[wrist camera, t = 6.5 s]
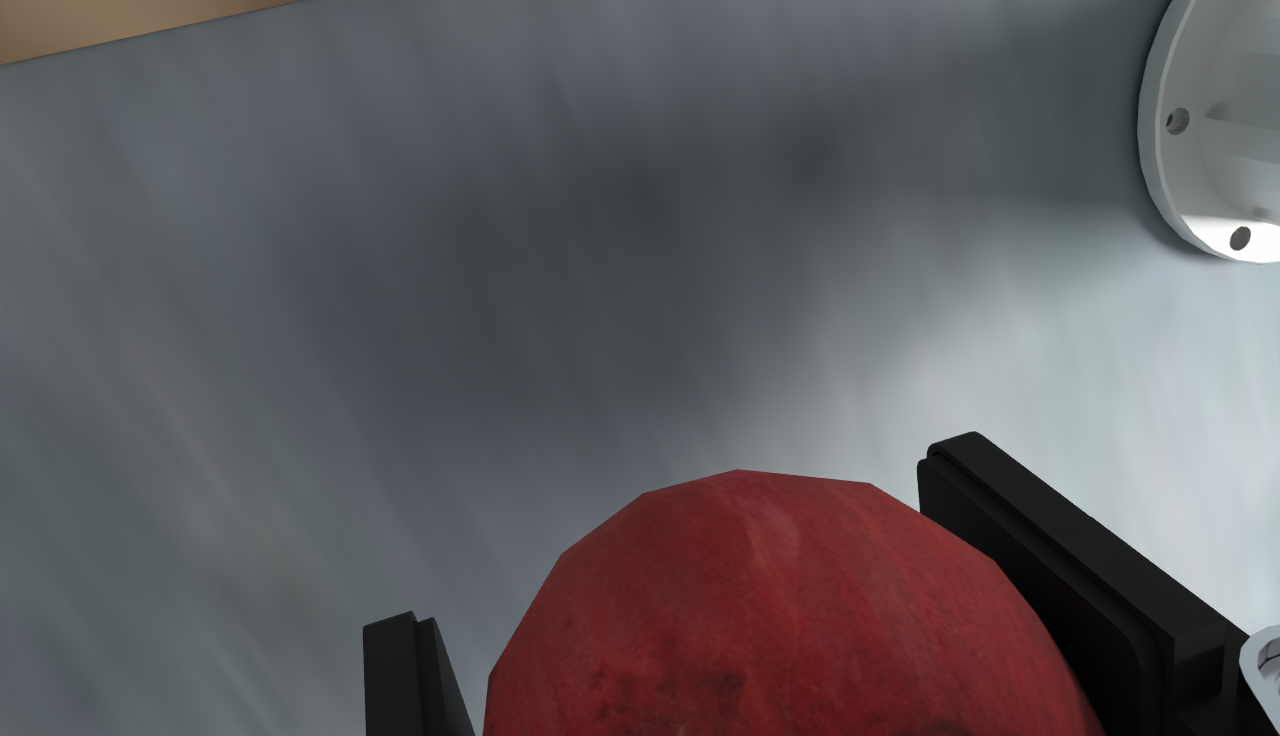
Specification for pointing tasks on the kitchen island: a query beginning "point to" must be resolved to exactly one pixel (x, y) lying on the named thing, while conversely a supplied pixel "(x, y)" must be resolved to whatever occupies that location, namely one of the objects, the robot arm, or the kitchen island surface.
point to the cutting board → (100, 21)
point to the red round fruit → (780, 625)
